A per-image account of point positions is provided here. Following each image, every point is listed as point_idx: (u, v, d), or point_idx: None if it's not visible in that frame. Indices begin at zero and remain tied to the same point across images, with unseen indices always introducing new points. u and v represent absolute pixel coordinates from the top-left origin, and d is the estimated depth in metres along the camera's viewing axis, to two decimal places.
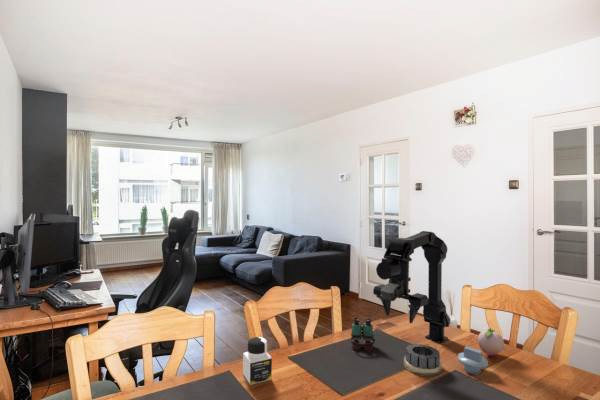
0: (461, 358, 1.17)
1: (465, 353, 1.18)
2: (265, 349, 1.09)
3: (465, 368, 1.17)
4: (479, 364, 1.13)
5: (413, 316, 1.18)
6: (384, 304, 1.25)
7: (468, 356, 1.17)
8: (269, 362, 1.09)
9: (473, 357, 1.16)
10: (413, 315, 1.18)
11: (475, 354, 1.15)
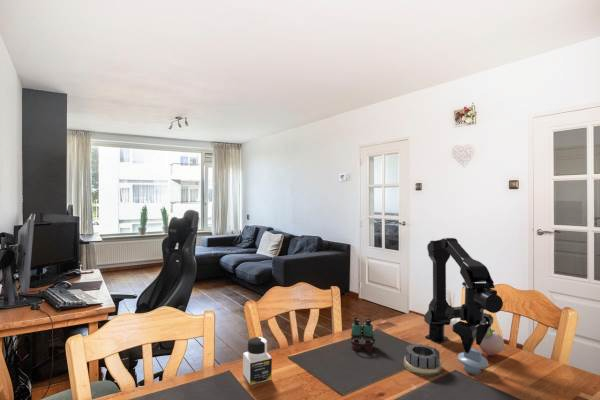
0: (461, 358, 1.17)
1: (465, 353, 1.18)
2: (265, 349, 1.09)
3: (465, 368, 1.17)
4: (479, 364, 1.13)
5: (465, 345, 1.13)
6: None
7: (468, 356, 1.17)
8: (269, 362, 1.09)
9: (473, 357, 1.16)
10: (464, 344, 1.13)
11: (475, 354, 1.15)
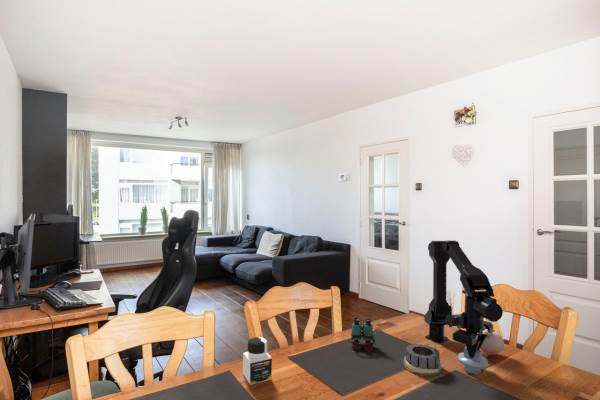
0: (461, 358, 1.17)
1: (465, 353, 1.18)
2: (265, 349, 1.09)
3: (465, 368, 1.17)
4: (479, 364, 1.13)
5: (470, 350, 1.15)
6: None
7: (468, 356, 1.17)
8: (269, 362, 1.09)
9: (473, 357, 1.16)
10: (469, 349, 1.16)
11: (475, 354, 1.15)
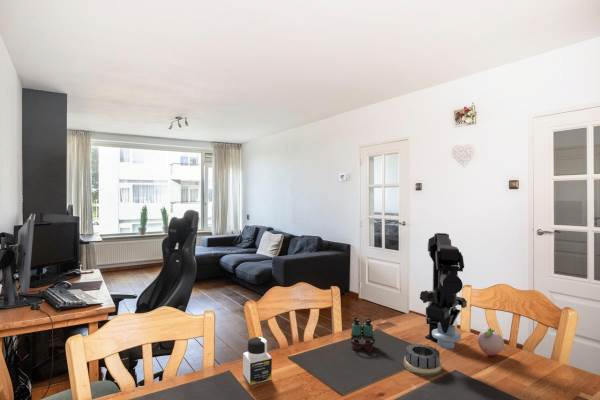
0: (435, 333, 1.17)
1: (439, 328, 1.18)
2: (265, 349, 1.09)
3: (439, 343, 1.17)
4: (452, 338, 1.13)
5: (443, 325, 1.16)
6: None
7: (442, 331, 1.17)
8: (269, 362, 1.09)
9: None
10: (442, 324, 1.16)
11: (448, 329, 1.16)
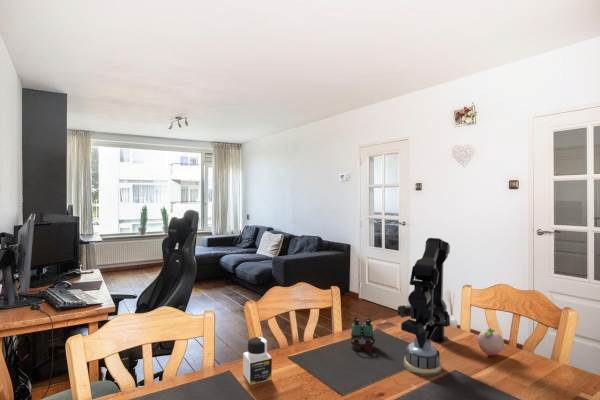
0: (411, 347, 1.18)
1: (415, 343, 1.19)
2: (265, 349, 1.09)
3: None
4: (427, 353, 1.15)
5: (419, 340, 1.17)
6: None
7: (418, 345, 1.19)
8: (269, 362, 1.09)
9: None
10: (418, 339, 1.17)
11: None
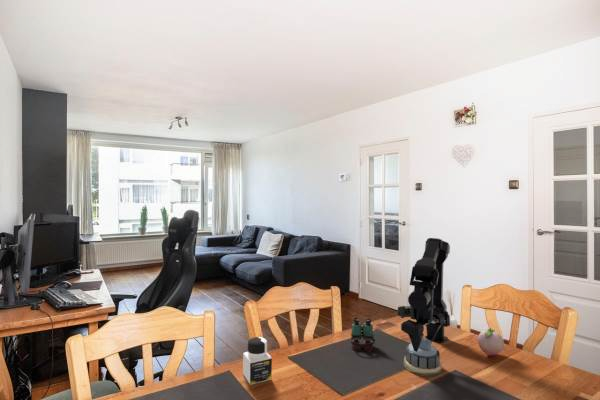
0: (411, 347, 1.18)
1: None
2: (265, 349, 1.09)
3: None
4: (427, 353, 1.15)
5: (414, 344, 1.15)
6: None
7: None
8: (269, 362, 1.09)
9: (422, 346, 1.17)
10: (413, 342, 1.15)
11: (424, 343, 1.17)
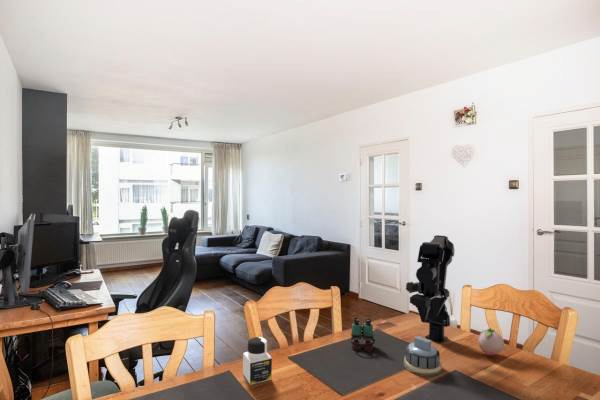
0: (411, 347, 1.18)
1: (415, 343, 1.19)
2: (265, 349, 1.09)
3: None
4: (427, 353, 1.15)
5: (421, 315, 1.25)
6: None
7: (418, 345, 1.19)
8: (269, 362, 1.09)
9: (422, 346, 1.17)
10: (421, 314, 1.25)
11: (424, 343, 1.17)
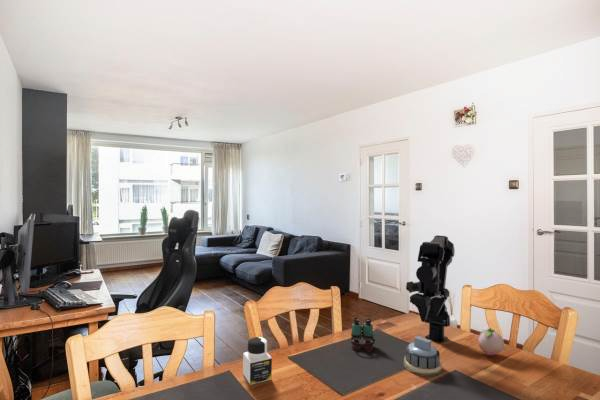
0: (411, 347, 1.18)
1: (415, 343, 1.19)
2: (265, 349, 1.09)
3: None
4: (427, 353, 1.15)
5: (421, 315, 1.25)
6: None
7: (418, 345, 1.19)
8: (269, 362, 1.09)
9: (422, 346, 1.17)
10: (421, 314, 1.26)
11: (424, 343, 1.17)
